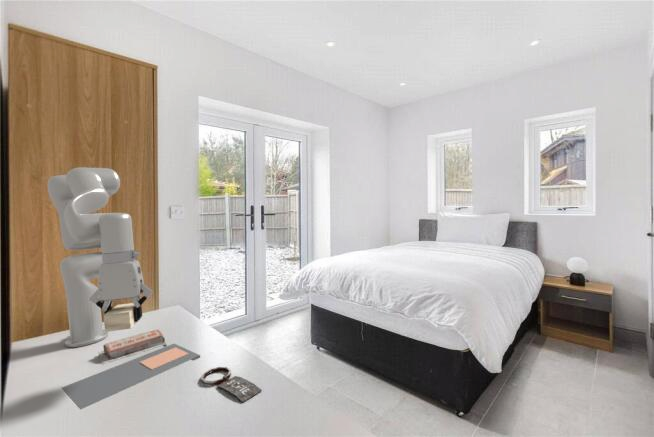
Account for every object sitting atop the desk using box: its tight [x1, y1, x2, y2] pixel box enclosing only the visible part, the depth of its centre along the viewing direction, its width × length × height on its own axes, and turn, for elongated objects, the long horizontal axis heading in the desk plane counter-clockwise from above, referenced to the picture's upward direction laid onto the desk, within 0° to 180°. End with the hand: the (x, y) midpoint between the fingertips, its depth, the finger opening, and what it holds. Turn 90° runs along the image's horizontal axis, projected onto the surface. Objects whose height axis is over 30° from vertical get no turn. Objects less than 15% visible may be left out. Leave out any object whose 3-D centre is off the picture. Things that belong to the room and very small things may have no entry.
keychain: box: [200, 366, 263, 403], centre depth 81 cm, size 8×19×2 cm, turn 50°
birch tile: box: [103, 302, 143, 333], centre depth 88 cm, size 9×6×4 cm, turn 14°
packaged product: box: [98, 329, 168, 365], centre depth 104 cm, size 18×5×10 cm
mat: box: [61, 343, 201, 410], centre depth 90 cm, size 16×30×1 cm, turn 143°
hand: (124, 321), depth 88 cm, fingers closed on birch tile, 6 cm apart
